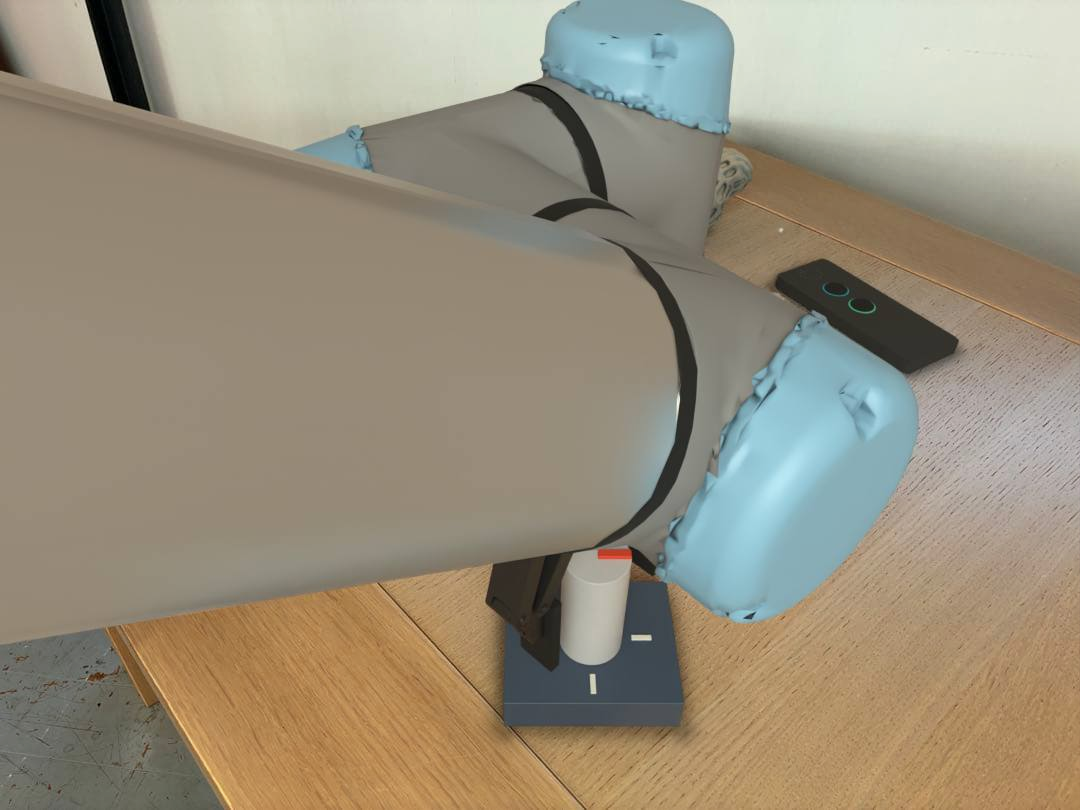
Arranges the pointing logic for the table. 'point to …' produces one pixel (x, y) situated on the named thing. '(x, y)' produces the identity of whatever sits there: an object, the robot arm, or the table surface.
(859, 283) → the smart home device
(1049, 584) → the table surface
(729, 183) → the teapot
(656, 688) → the timer panel
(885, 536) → the table surface
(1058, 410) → the table surface
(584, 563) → the timer knob
